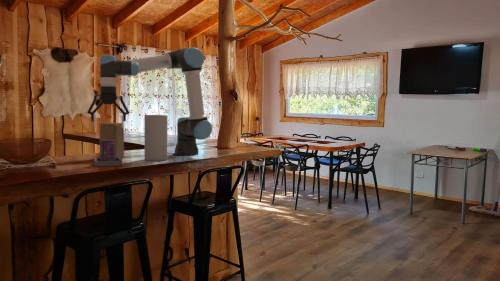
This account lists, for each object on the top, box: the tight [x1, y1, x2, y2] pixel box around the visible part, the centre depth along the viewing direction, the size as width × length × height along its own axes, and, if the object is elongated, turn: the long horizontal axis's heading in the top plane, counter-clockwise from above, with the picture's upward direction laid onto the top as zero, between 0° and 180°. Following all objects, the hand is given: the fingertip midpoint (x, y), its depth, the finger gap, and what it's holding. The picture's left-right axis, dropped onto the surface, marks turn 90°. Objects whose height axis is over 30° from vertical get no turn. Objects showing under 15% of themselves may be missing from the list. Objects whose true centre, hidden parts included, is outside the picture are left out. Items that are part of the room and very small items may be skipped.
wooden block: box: [99, 122, 125, 159], centre depth 227 cm, size 10×10×20 cm
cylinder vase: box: [144, 114, 168, 162], centre depth 226 cm, size 12×12×25 cm
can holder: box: [93, 157, 123, 168], centre depth 207 cm, size 13×13×2 cm
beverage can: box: [101, 139, 115, 161], centre depth 207 cm, size 7×7×12 cm
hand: (108, 127), depth 206 cm, fingers open, 13 cm apart
